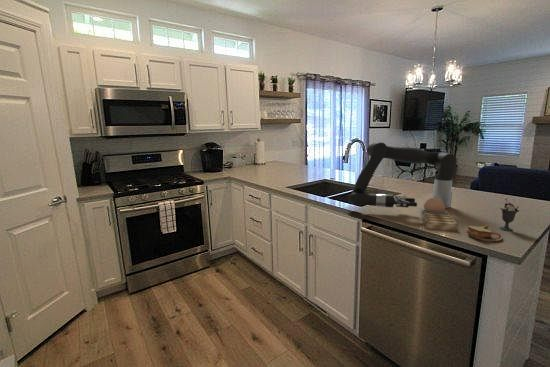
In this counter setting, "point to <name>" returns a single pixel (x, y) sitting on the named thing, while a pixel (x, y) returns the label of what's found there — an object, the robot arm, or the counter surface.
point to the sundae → (508, 215)
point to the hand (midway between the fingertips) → (415, 202)
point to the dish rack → (439, 221)
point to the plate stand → (432, 212)
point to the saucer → (434, 205)
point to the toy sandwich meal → (483, 233)
